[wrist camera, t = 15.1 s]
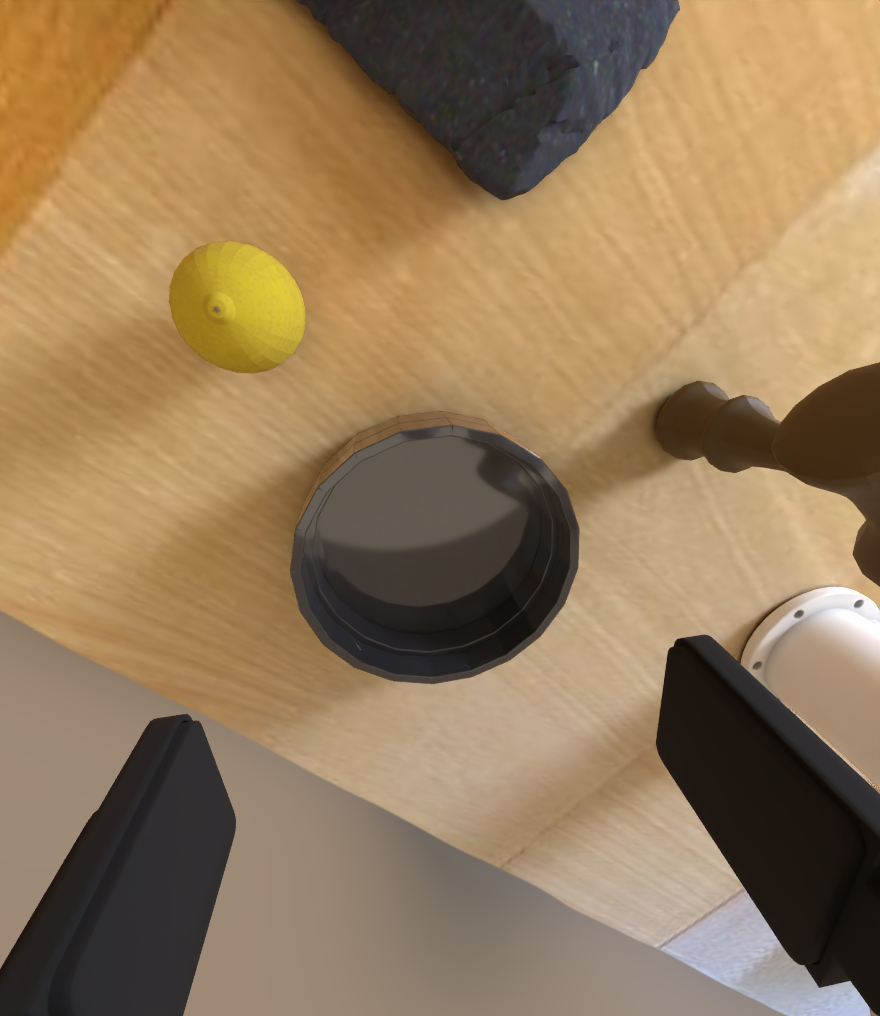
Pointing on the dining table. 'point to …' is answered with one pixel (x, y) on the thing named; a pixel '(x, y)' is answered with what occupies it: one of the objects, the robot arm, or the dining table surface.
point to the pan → (433, 549)
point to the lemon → (237, 307)
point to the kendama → (792, 442)
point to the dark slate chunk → (502, 72)
